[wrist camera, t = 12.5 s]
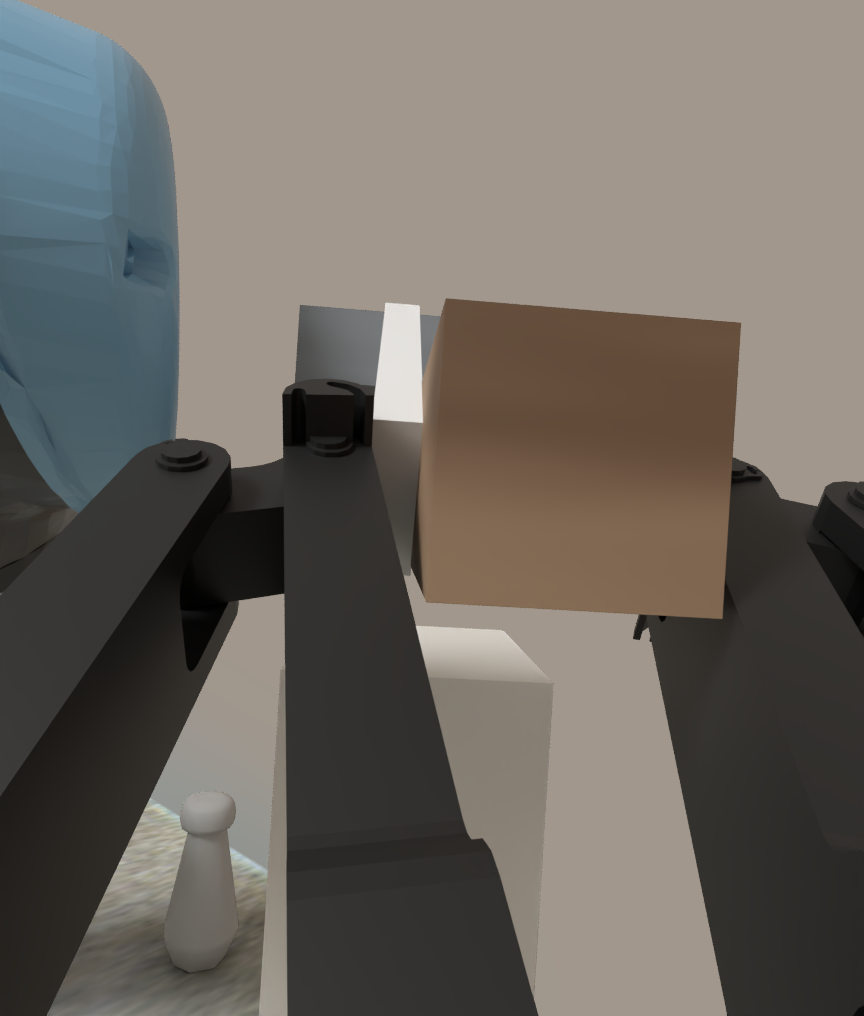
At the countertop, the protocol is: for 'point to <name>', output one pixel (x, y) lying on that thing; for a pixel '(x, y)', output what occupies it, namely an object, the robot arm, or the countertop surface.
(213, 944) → the salt shaker
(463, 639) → the pedestal
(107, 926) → the countertop surface
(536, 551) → the panel with wooden post
